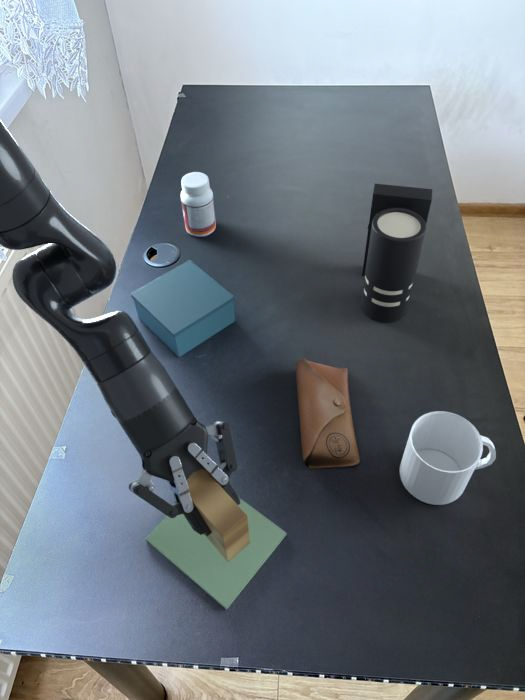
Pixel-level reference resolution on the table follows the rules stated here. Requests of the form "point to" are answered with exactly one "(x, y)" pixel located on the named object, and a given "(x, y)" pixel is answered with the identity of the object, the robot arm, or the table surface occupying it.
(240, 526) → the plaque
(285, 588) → the table surface
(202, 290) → the toy box
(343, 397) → the sunglasses case
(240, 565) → the mat
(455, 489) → the mug
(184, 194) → the pill bottle
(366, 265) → the light fixture
